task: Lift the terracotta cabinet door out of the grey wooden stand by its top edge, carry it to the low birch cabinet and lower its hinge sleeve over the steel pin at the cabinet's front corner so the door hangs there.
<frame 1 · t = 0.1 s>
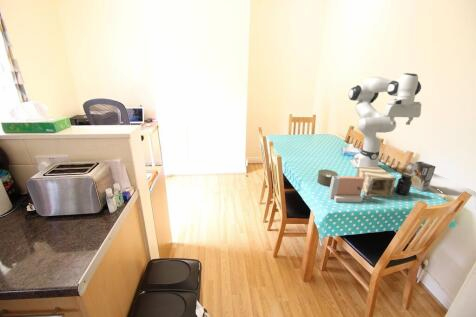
hand: (400, 124, 141), 39 cm above the table, tool pointing down, fingers open, 8 cm apart
door stand: (344, 197, 133), on the table
coffee box: (417, 187, 147), on the table
door: (332, 197, 133), on the table
cabinet: (379, 196, 135), on the table
can: (326, 182, 151), on the table
supplement bottle: (401, 193, 139), on the table
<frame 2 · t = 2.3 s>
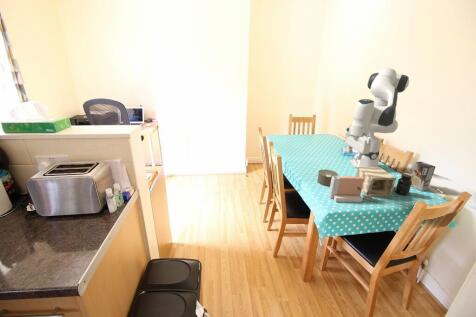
hand: (354, 156, 124), 26 cm above the table, tool pointing down, fingers open, 8 cm apart
nothing on the table moved.
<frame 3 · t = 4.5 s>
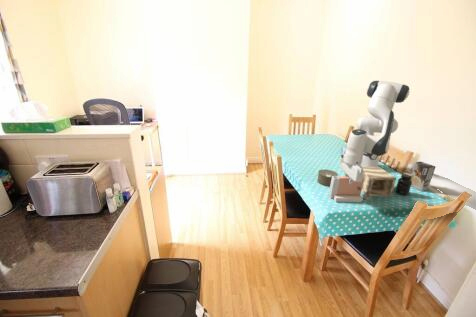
hand: (348, 182, 130), 10 cm above the table, tool pointing down, fingers closed on door, 2 cm apart
door: (332, 197, 133), on the table, touching gripper
everything else where it was.
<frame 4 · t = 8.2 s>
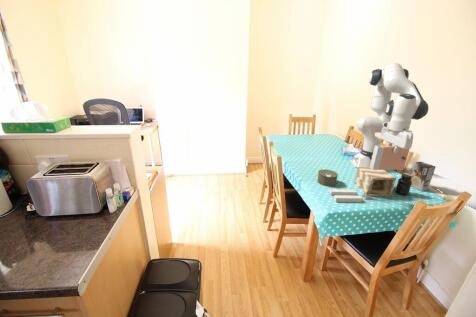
hand: (392, 151, 123), 29 cm above the table, tool pointing down, fingers closed on door, 2 cm apart
door: (373, 168, 127), point 19 cm above the table, touching gripper
everything else where it was.
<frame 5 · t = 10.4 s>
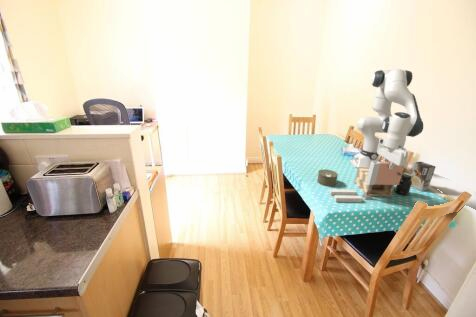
hand: (387, 167, 127), 19 cm above the table, tool pointing down, fingers closed on door, 2 cm apart
door: (370, 183, 130), point 9 cm above the table, touching gripper
everything else where it was.
when the fingers open (13 cm above the table, at t = 12.0 s): door drops 1 cm, resting on cabinet.
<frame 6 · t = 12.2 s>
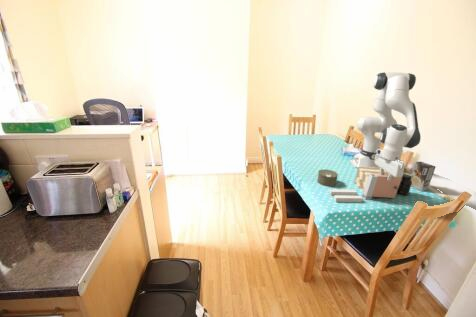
hand: (384, 177, 129), 13 cm above the table, tool pointing down, fingers open, 4 cm apart
door: (367, 195, 133), point 2 cm above the table, touching cabinet
everything else where it was.
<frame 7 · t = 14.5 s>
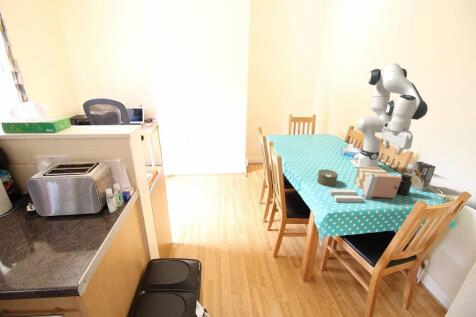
hand: (392, 151, 126), 28 cm above the table, tool pointing down, fingers open, 8 cm apart
nothing on the table moved.
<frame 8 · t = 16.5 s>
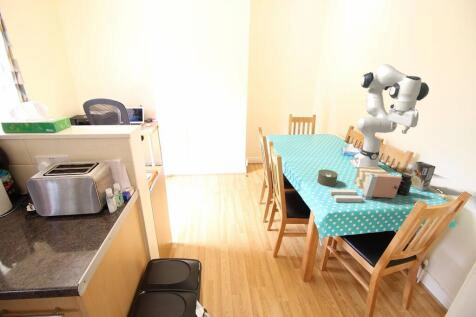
hand: (398, 131, 132), 37 cm above the table, tool pointing down, fingers open, 8 cm apart
nothing on the table moved.
at the end: door 0.1 cm from the target spot, point 1.6 cm above the table; door tilted 3°; the gripper is holding nothing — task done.
